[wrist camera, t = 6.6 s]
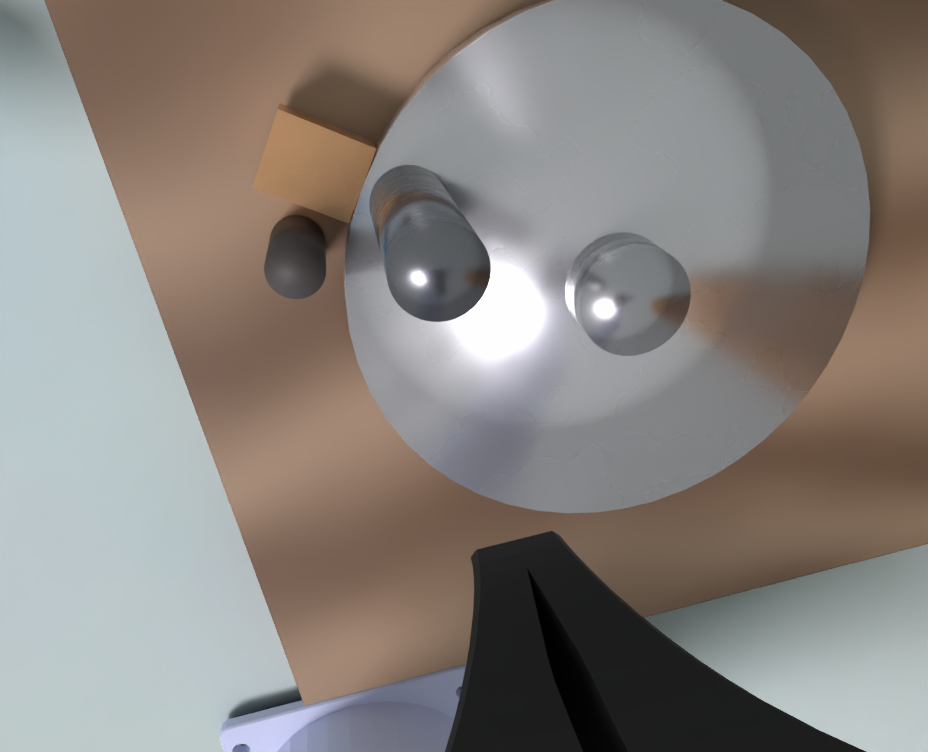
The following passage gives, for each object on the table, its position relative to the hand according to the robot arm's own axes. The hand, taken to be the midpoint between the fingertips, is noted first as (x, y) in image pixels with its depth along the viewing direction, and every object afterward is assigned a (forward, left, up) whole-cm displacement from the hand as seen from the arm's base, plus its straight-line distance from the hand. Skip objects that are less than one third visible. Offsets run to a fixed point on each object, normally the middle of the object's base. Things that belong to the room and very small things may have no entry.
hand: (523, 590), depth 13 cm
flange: (+3, -3, -8) cm, 9 cm away
